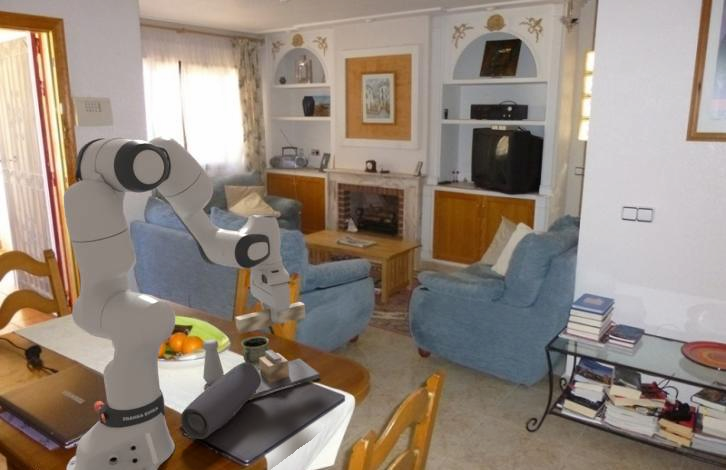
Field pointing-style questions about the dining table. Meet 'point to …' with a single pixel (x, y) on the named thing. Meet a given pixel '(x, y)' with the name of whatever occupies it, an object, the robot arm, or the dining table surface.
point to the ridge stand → (283, 372)
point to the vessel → (254, 349)
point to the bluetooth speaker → (220, 401)
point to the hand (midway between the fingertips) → (270, 317)
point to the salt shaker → (212, 362)
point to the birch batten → (268, 318)
